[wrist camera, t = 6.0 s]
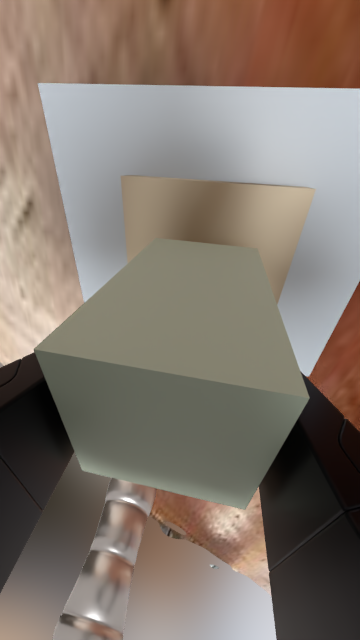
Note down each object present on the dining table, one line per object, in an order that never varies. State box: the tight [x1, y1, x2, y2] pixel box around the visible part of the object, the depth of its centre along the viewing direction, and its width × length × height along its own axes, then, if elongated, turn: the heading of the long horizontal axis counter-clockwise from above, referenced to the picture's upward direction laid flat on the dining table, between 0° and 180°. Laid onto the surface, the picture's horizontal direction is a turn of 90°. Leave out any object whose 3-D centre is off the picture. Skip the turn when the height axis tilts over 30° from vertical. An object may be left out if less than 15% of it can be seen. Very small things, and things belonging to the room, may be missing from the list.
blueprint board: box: [38, 83, 360, 376], centre depth 15 cm, size 18×16×1 cm
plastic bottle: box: [52, 478, 156, 640], centre depth 25 cm, size 6×7×20 cm
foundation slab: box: [121, 175, 316, 304], centre depth 14 cm, size 9×9×2 cm
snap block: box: [34, 238, 309, 510], centre depth 8 cm, size 5×5×8 cm
